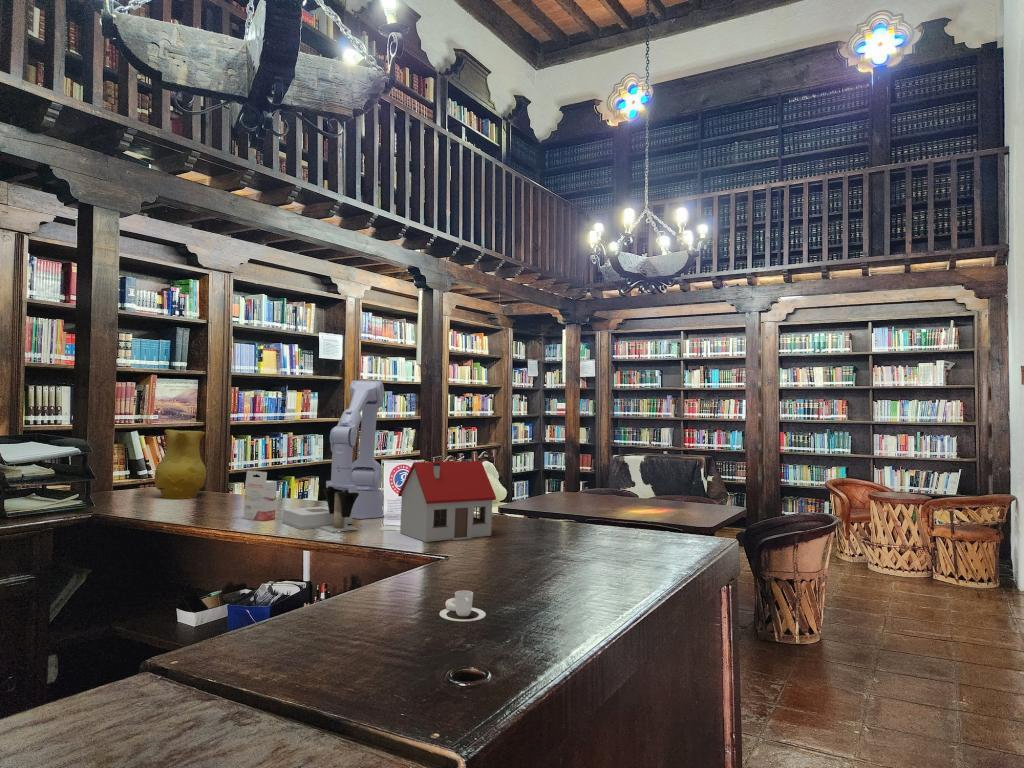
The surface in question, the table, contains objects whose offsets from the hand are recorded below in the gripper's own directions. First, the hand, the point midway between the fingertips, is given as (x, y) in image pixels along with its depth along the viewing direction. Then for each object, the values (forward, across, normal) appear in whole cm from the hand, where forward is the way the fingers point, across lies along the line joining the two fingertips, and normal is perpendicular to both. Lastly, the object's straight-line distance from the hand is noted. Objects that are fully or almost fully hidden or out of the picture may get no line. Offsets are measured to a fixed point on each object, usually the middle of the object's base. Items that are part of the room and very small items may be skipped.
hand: (339, 515), depth 188 cm
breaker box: (+4, -12, -1) cm, 12 cm away
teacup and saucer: (+5, +83, -17) cm, 85 cm away
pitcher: (+4, -90, -17) cm, 92 cm away
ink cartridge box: (+4, -28, -12) cm, 31 cm away
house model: (+4, +22, +22) cm, 31 cm away
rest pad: (+4, 0, 0) cm, 4 cm away
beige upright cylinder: (+3, 0, 0) cm, 3 cm away
